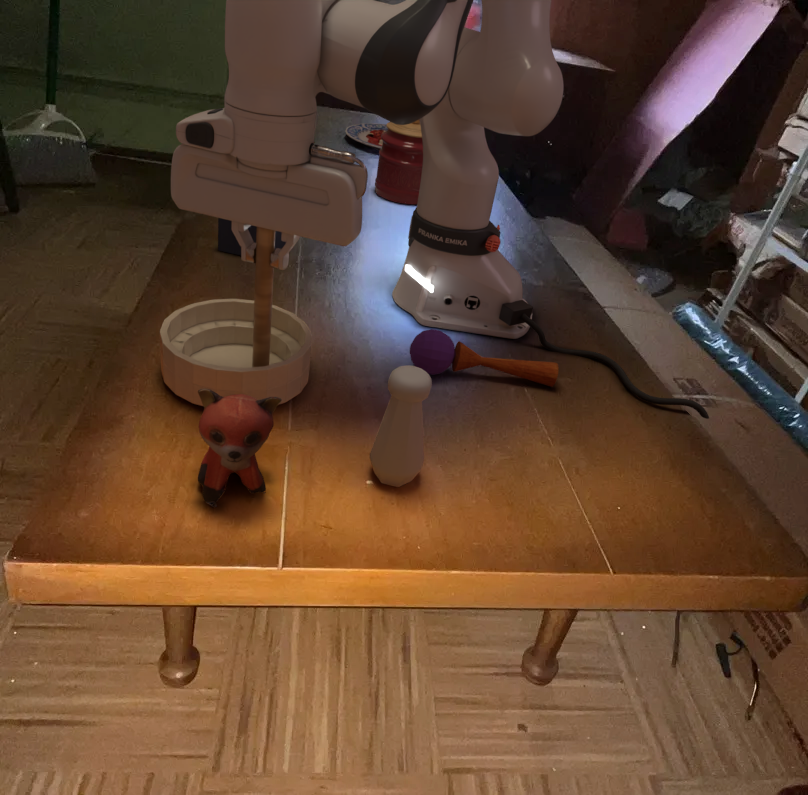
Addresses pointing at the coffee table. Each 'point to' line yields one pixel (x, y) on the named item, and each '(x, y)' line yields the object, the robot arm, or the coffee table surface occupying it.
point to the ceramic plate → (367, 134)
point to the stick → (263, 297)
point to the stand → (230, 243)
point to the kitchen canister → (400, 163)
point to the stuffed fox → (233, 440)
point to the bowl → (232, 351)
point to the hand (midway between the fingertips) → (264, 263)
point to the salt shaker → (402, 428)
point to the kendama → (472, 359)
